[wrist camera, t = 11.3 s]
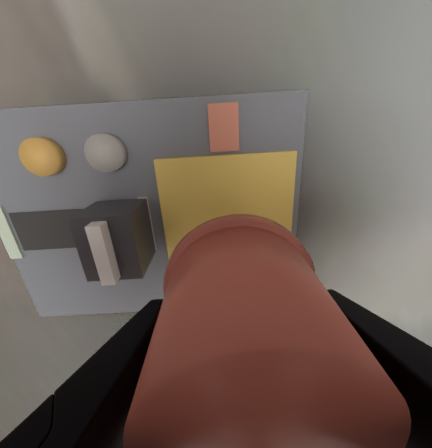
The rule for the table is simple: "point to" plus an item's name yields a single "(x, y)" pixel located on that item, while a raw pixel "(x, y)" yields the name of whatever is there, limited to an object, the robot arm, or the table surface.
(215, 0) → the table surface
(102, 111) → the panel
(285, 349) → the cap
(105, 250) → the breaker
